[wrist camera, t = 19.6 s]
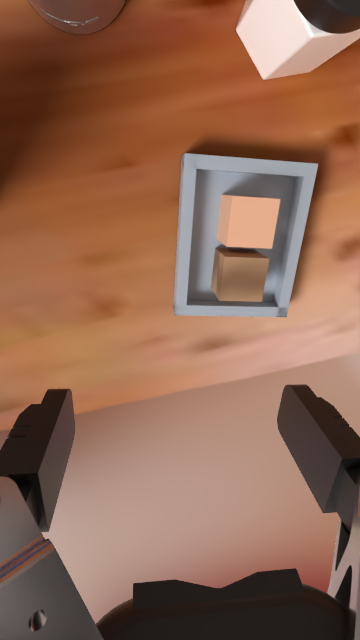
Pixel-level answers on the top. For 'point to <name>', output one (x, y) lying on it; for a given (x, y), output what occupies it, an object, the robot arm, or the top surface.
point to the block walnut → (239, 275)
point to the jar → (296, 33)
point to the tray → (201, 240)
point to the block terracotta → (247, 221)
